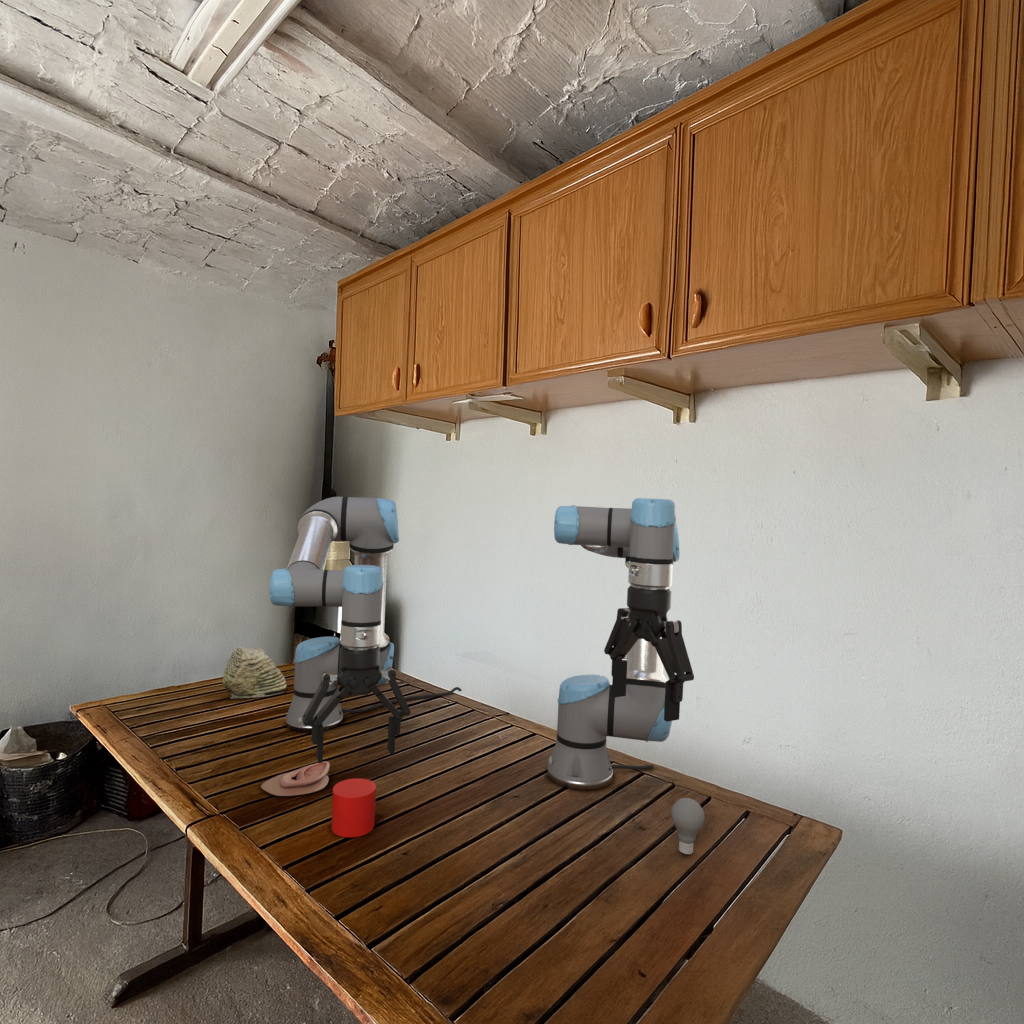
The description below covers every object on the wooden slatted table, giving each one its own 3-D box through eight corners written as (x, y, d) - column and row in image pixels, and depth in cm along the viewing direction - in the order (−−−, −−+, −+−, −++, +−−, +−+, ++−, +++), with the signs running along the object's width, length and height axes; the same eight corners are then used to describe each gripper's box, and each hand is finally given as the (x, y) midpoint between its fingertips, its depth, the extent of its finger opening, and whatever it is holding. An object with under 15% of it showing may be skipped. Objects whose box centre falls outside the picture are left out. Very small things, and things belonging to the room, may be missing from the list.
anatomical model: (253, 773, 134) (283, 753, 145) (252, 792, 134) (282, 770, 145) (310, 782, 131) (336, 760, 142) (309, 801, 131) (335, 777, 143)
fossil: (218, 695, 195) (220, 647, 195) (278, 685, 208) (279, 640, 207) (228, 703, 189) (230, 653, 188) (289, 692, 201) (290, 645, 201)
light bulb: (664, 843, 121) (667, 792, 121) (695, 843, 121) (698, 792, 121) (675, 861, 115) (678, 807, 115) (707, 861, 115) (710, 807, 115)
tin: (322, 830, 120) (323, 791, 120) (348, 812, 128) (350, 775, 128) (357, 841, 117) (359, 801, 117) (382, 821, 125) (384, 783, 125)
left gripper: (294, 654, 113) (289, 772, 113) (428, 646, 124) (424, 755, 124) (290, 645, 120) (285, 756, 120) (417, 638, 130) (413, 741, 131)
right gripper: (589, 578, 119) (583, 689, 120) (686, 598, 98) (679, 734, 98) (620, 577, 123) (615, 685, 124) (720, 596, 102) (713, 728, 102)
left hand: (355, 756), depth 122 cm, fingers open, 13 cm apart
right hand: (643, 707), depth 111 cm, fingers open, 13 cm apart
